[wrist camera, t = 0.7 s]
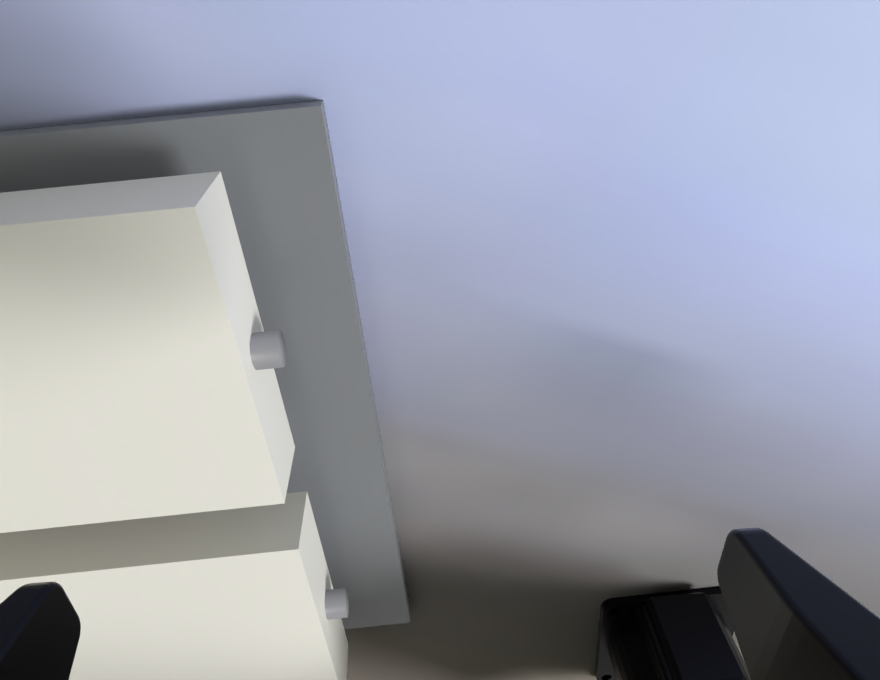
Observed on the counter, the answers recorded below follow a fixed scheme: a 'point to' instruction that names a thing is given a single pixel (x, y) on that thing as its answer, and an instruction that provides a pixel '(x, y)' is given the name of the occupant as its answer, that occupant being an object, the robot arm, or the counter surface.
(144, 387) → the rocker
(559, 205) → the counter surface
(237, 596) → the block
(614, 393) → the counter surface
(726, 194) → the counter surface
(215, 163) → the switch base
